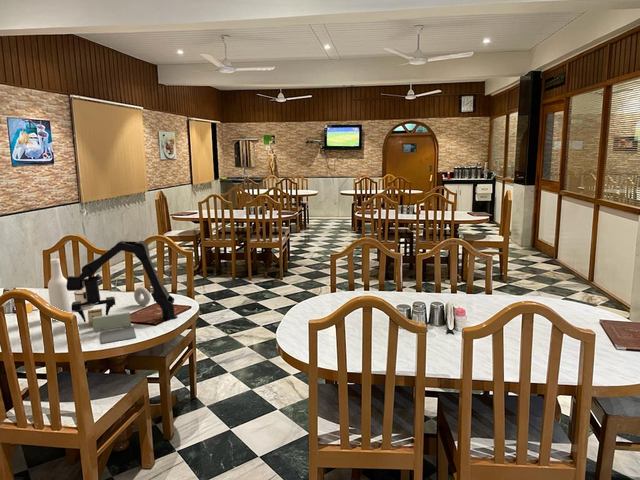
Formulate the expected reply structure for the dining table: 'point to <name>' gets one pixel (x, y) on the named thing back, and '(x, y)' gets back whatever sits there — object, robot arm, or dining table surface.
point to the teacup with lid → (81, 298)
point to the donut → (145, 293)
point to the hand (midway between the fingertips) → (95, 320)
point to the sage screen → (111, 321)
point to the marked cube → (93, 315)
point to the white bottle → (58, 288)
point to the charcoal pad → (117, 335)
